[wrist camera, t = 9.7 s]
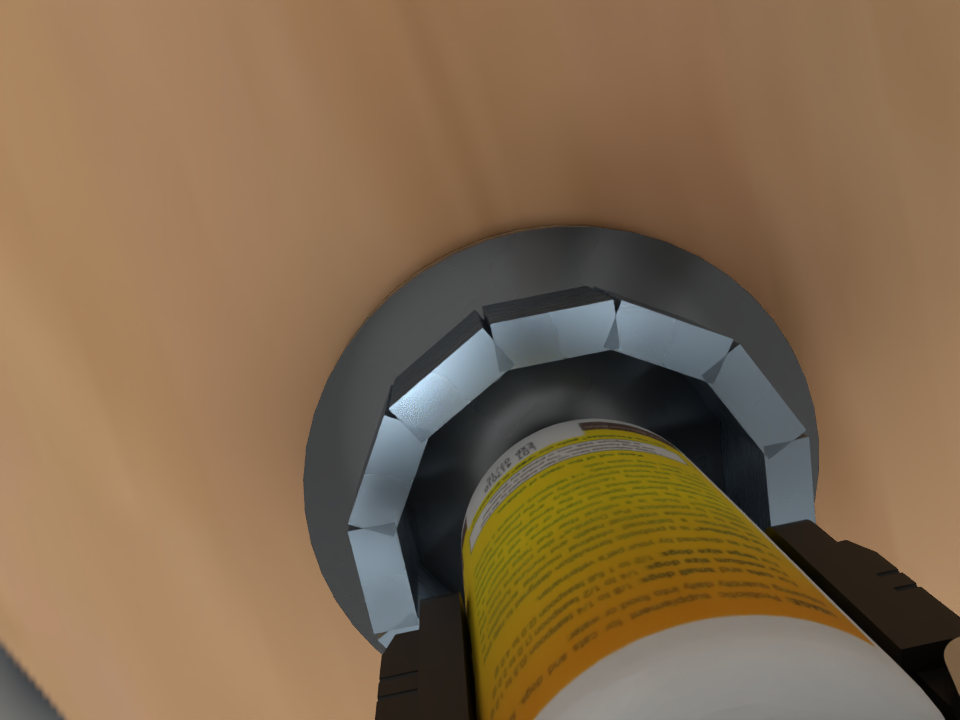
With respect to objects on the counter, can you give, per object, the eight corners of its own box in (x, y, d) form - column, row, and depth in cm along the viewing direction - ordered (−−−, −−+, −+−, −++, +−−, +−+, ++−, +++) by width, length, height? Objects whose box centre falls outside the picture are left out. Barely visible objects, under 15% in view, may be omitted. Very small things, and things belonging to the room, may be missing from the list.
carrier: (400, 148, 16) (392, 132, 13) (874, 321, 18) (983, 350, 14) (253, 617, 18) (212, 714, 15) (682, 728, 20) (735, 837, 17)
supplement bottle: (406, 518, 15) (360, 1151, 5) (606, 358, 14) (1004, 700, 4) (561, 681, 16) (774, 1456, 6) (750, 539, 16) (1314, 1126, 6)
